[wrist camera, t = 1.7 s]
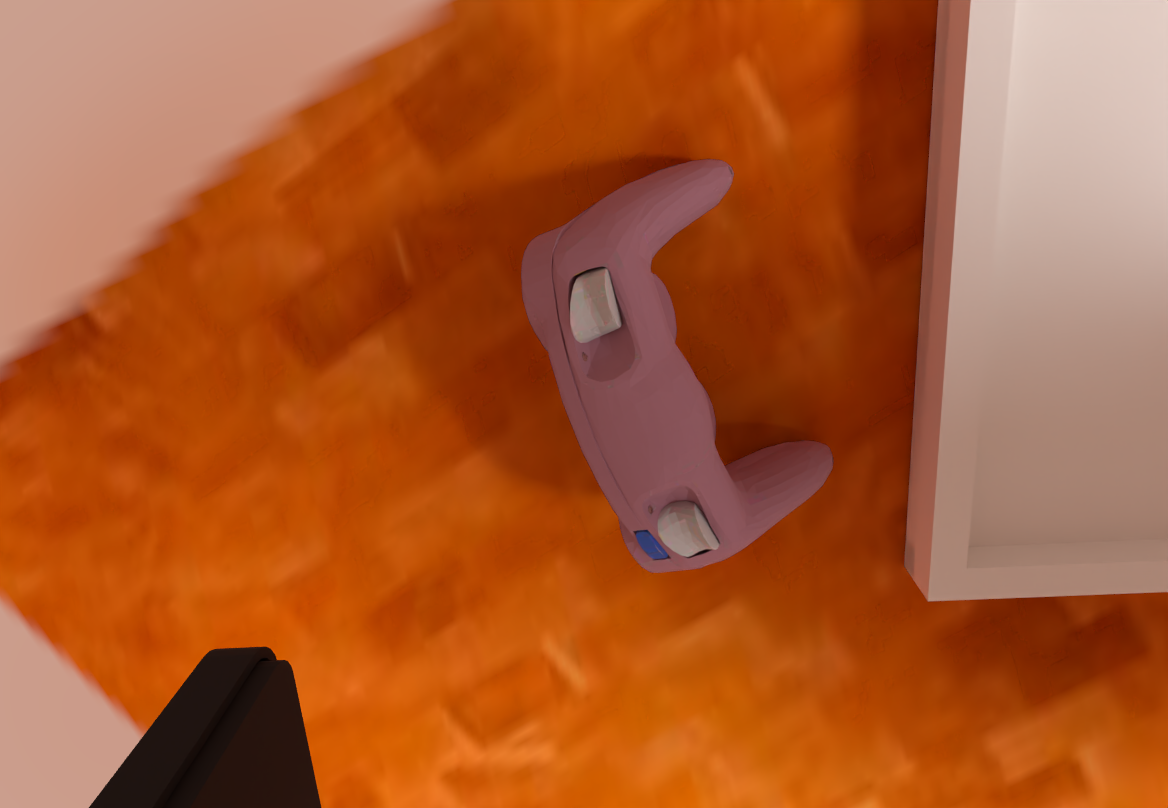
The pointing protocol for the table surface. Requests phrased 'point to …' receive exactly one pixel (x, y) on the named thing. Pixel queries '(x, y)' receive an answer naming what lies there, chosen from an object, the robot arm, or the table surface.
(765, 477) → the video game controller
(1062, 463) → the tray
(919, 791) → the table surface
